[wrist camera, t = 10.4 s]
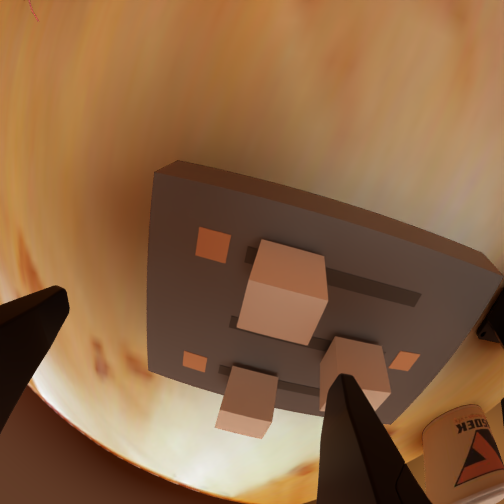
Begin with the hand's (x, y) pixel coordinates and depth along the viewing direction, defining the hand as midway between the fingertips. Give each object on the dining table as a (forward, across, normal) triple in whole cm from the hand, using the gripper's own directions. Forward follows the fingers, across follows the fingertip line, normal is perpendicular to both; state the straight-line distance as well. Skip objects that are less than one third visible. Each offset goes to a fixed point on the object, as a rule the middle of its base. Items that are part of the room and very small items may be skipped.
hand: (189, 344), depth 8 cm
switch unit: (+10, -5, +5) cm, 12 cm away
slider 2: (+7, -3, +1) cm, 7 cm away
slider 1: (+7, -3, +10) cm, 12 cm away
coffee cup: (+10, -27, +17) cm, 34 cm away
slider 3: (+7, -8, +5) cm, 11 cm away
